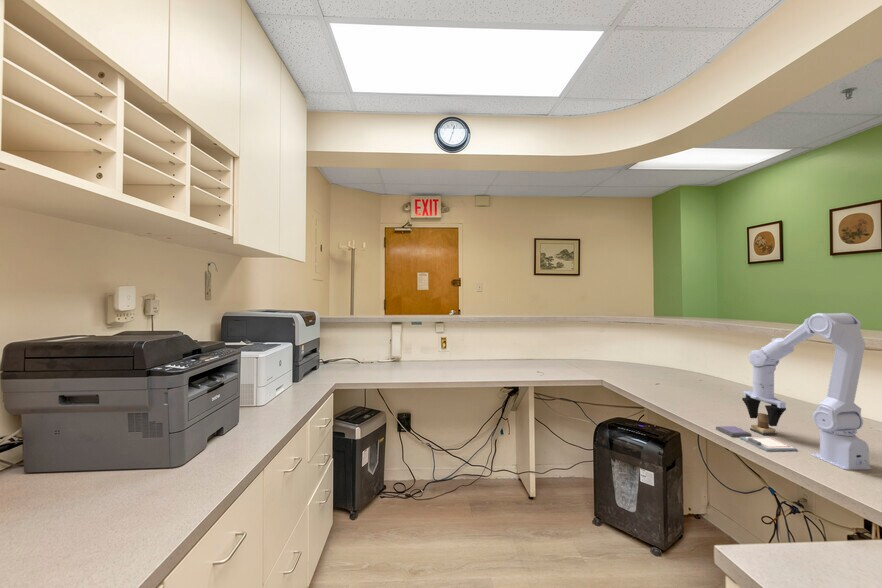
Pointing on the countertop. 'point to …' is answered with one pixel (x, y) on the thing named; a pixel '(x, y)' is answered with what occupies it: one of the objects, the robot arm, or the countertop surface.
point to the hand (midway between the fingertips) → (763, 421)
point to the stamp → (763, 426)
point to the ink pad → (733, 431)
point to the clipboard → (768, 443)
